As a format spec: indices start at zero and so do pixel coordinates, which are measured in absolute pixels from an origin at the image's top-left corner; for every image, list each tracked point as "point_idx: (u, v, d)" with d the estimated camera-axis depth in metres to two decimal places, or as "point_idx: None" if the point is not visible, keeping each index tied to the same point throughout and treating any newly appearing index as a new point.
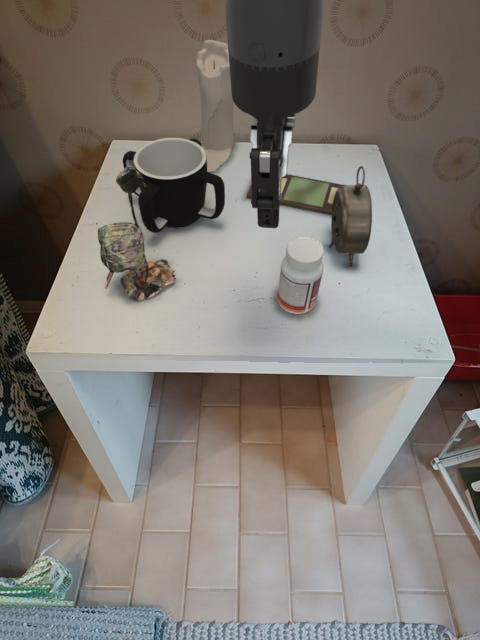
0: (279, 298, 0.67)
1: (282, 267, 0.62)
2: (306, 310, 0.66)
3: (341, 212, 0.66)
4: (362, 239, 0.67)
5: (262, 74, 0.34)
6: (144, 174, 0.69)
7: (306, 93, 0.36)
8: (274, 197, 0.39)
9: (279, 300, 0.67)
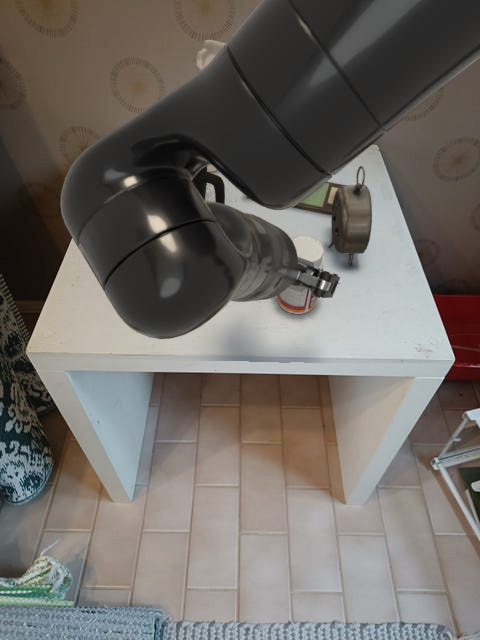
0: (279, 298, 0.67)
1: None
2: (306, 310, 0.66)
3: (341, 212, 0.66)
4: (362, 239, 0.67)
5: (285, 279, 0.38)
6: None
7: (289, 238, 0.40)
8: (337, 279, 0.46)
9: (279, 300, 0.67)
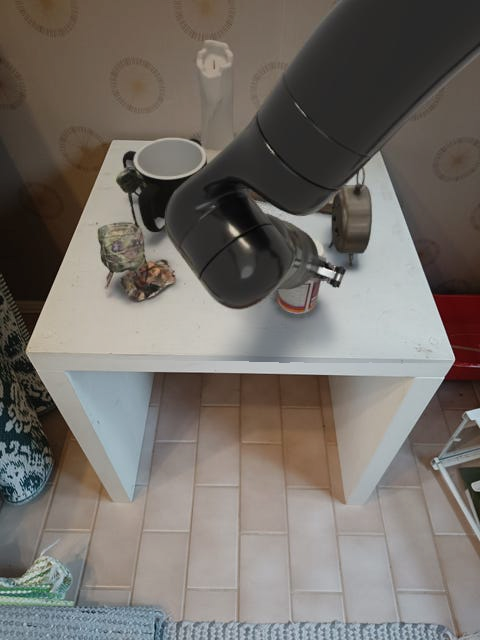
0: (279, 298, 0.67)
1: None
2: (306, 310, 0.66)
3: (341, 212, 0.66)
4: (362, 239, 0.67)
5: (309, 271, 0.48)
6: (144, 174, 0.69)
7: (311, 239, 0.50)
8: None
9: (279, 300, 0.67)
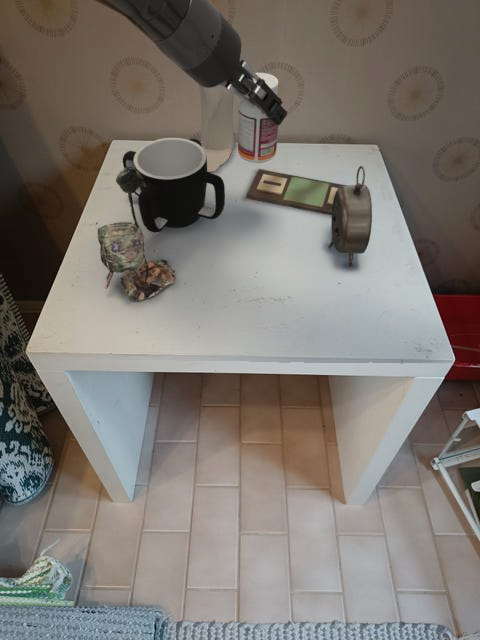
0: None
1: (240, 100, 0.63)
2: (256, 159, 0.67)
3: (341, 212, 0.66)
4: (362, 239, 0.67)
5: (213, 56, 0.50)
6: (144, 174, 0.69)
7: (235, 35, 0.51)
8: (277, 100, 0.56)
9: None
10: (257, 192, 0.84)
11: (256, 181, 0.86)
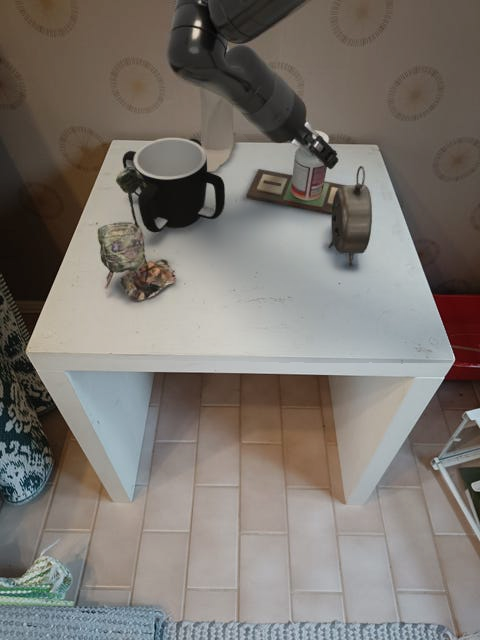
0: None
1: (296, 151, 0.78)
2: (307, 197, 0.81)
3: (341, 212, 0.66)
4: (362, 239, 0.67)
5: (286, 122, 0.64)
6: (144, 174, 0.69)
7: (302, 105, 0.66)
8: (333, 152, 0.69)
9: (291, 185, 0.83)
10: (257, 192, 0.84)
11: (256, 181, 0.86)
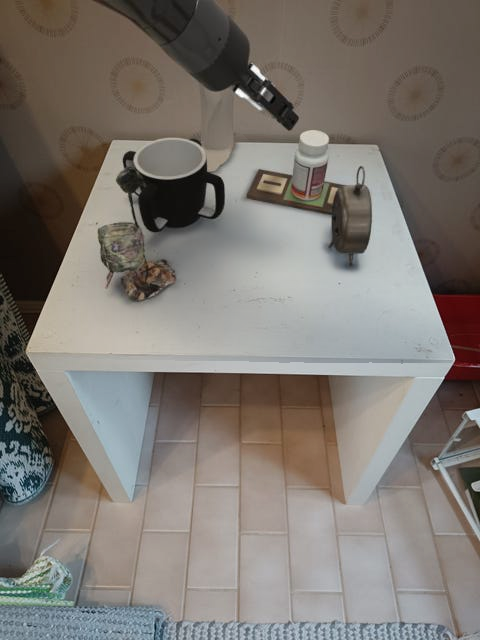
0: None
1: (296, 151, 0.78)
2: (307, 197, 0.81)
3: (341, 212, 0.66)
4: (362, 239, 0.67)
5: (220, 59, 0.48)
6: (144, 174, 0.69)
7: (243, 38, 0.50)
8: (287, 103, 0.54)
9: (291, 185, 0.83)
10: (257, 192, 0.84)
11: (256, 181, 0.86)
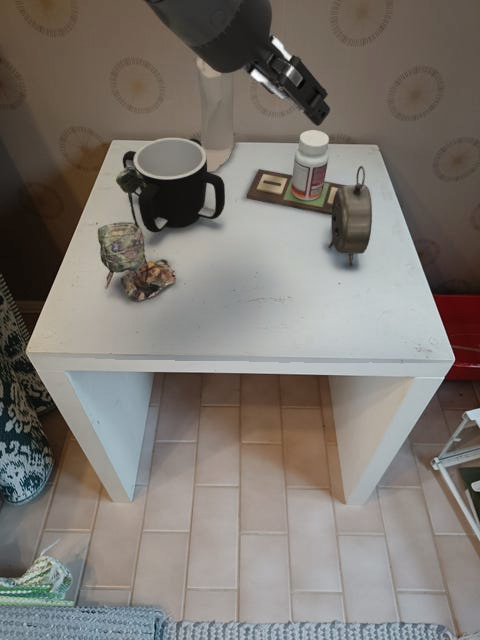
0: None
1: (296, 151, 0.78)
2: (307, 197, 0.81)
3: (341, 212, 0.66)
4: (362, 239, 0.67)
5: (233, 26, 0.35)
6: (144, 174, 0.69)
7: None
8: (319, 89, 0.41)
9: (291, 185, 0.83)
10: (257, 192, 0.84)
11: (256, 181, 0.86)
